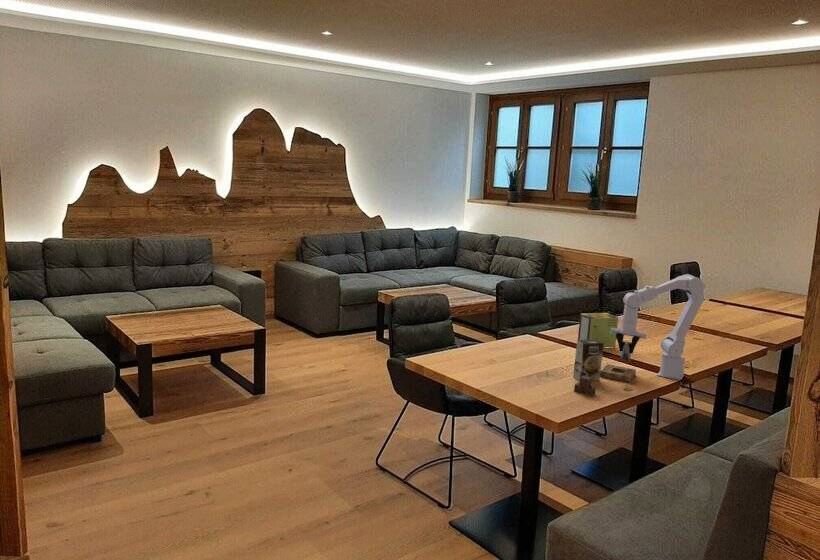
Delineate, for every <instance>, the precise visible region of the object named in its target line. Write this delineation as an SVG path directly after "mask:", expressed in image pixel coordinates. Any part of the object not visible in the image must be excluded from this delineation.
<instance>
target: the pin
mask: <svg viewBox="0 0 820 560" xmlns="http://www.w3.org/2000/svg"><path fill="white" fill-rule="evenodd" d="M631 346H632V341H629V340H625V341H624V340H623V342H622V351H621V352H620V359H622V360H628V361H629V360H631V357H632V354H631V353H630V352H631Z"/></svg>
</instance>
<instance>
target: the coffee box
mask: <svg viewBox="0 0 820 560" xmlns="http://www.w3.org/2000/svg"><path fill="white" fill-rule="evenodd" d="M603 345H604V343H602V342H600V341H597V340H578V339H577V340H576V349H575V357H574V366H573V374H572V375H573V376H572V377H573V378H575V379H576V380H578V381H579V382H580V377H582V376H588V377H592V380H593V381H592V382H594V380H599V381H600V379H601V377H600V372H601V370H602V361H603V353H604V352H603V351H604V349H603Z"/></svg>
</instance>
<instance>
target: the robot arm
mask: <svg viewBox="0 0 820 560" xmlns="http://www.w3.org/2000/svg"><path fill="white" fill-rule="evenodd" d="M705 288H706V286H705V284H704V281H703V280H702V279H701V278H700V277H697V276H694V275H692V274H691V273H690V274H689V273H686V274H683V275H678V276H677V277H675V278H673V279H670V280H669V281H666V282H664V283H662V284H661V283H660V285H657V286H652V285H650V286H649V285H645V286H644V288H642V289H639V290H637V289H636V290H634V292H626V294H625V295H624V297H623V298H622V302H623V303H624V307H623V308H624V309H623V315H622V323H621V328H618V327H617V328H611V331H610V333H616V342H617V343H618V344H617V345H618V350H619V352H620V353H621V351H622V342H623V341H624V337H625V336H627V337H632V338H631V342H632V346H631V352H630V353H631V355H633V354H634V351H635V349H636V348H635V347H636V345H637V344H638V343H639V341H640V339H643V340H646V339H647V335H648V334H647V333H644V332H641V331H637V325H638V324H637V323H638V316H639V308H640V307H641V305H642V304H646V303H647V302H648V303H649V302H651V301H653V300H656V299H657V298H658V296H659V295H661V294H664V293H668V292H670V291H673V290H677V289H679V290H683V291H685V293H686V295H687V297H688V300H687V302H686V304H685V305H684V308H683V310H682V311H681V314H680V316H679V317H678V320H677V322H676V323H675V326H674V327H673V329H672V331H671V332H669V333H667V334H666V335H667V336H666V337H664V338H663V339H662V341H661V343H660V348H661V349H662V352H661V359H660V360H661V361H660V369H659V371H658V373H657V376H658V377H664V378H667V379H672V380H673V379H674V380H679V381H681V380H682V379H683V377H684V376H685V375H684V374H685V367H686V365H685V364H686V358H685V357H682V355H683V353H684V350H685V349H684V347H685V345H686V340H685V337H686V335H687V333H688V331H689V330H690V328H691V326H692V324H693V322H694V320H695V318H696V317H697V314H698V312H699V310H700V308H701V306H702V305H703V303H704V301H705V291H704V289H705Z"/></svg>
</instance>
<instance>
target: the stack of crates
mask: <svg viewBox="0 0 820 560" xmlns="http://www.w3.org/2000/svg"><path fill="white" fill-rule="evenodd" d="M592 382H593V381H592V377H588V376H582V377H580V381H579V382H577V383H575V384H574V388H573V391H574V392H576V393H579V394H581V393H583V395H585V394H586V396H588V395H590V396H589V397H593V396H594V394H595V395H596V389H597V388H596V387H595V386H592ZM592 395H593V396H592Z"/></svg>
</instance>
